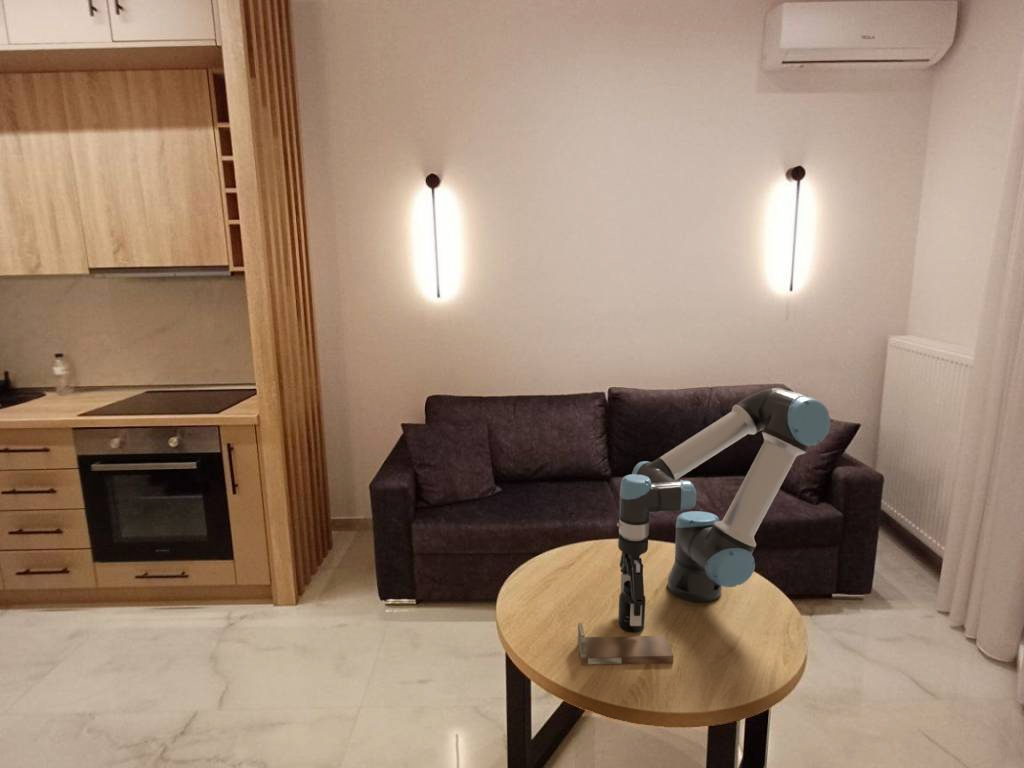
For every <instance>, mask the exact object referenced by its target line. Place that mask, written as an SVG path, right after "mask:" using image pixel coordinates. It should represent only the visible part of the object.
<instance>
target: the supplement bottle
mask: <svg viewBox="0 0 1024 768" xmlns="http://www.w3.org/2000/svg"><path fill="white" fill-rule="evenodd" d="M629 601H632V594H631V583H630V580H628V581H626V582H625V583H624V587H623V591H622V592H621V593H620V592H619V597H618V617H617V620H618V621H617V623H618V627H619V628H620V629H621V630H622V631H625V632H626V633H631V634H632V633H638V632H641V631H642V630H644V628H645V619H646V618H645V616H646V604H645V605H642V619H641V626H630V610H631V604H630V603H629ZM644 602H645V603H646V596H645V595H644Z"/></svg>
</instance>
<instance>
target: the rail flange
mask: <svg viewBox="0 0 1024 768" xmlns="http://www.w3.org/2000/svg"><path fill="white" fill-rule="evenodd" d="M583 626H584V625H583V622H578V623H577V647H578V653H579V657H580V663H581V665H582V666H586V665H588V666H590V665H591V666H592V665H593V666H594V665H601V666H602V665H631V664H632V665H642V664H643V665H644V664H645V665H650V664H673V663H674V654H673V651H672V648H671V646H670V644H669V642H668V640H667V637H666V635H635V636H634V635H632V636H630V635H629V636H626V635H625V636H623V635H621V636H586V635H585V631H584V627H583Z"/></svg>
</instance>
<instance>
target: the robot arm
mask: <svg viewBox="0 0 1024 768" xmlns="http://www.w3.org/2000/svg"><path fill="white" fill-rule="evenodd" d="M830 428H831V416H830V415H829V410H828V408H827V407H826V405H825V404H823V402H821V401H820V400H818V399H815V398H814V397H812V396H809V395H805V394H802V393H799V392H795V391H792V390H788V389H786V388H782V387H771V388H766V389H763V390H760V391H758V392H755V393H753V394H751V395H749V396H747V397H745V398H743V399H742V400H740V401H739V402H737V403H736V404H734V405H733V406H732V408H731V411H730V412H728V413H727V414H726V415H724V416H722V417H721V418H719V419H717V420H716V421H715V422H713V423H711V424H710V425H708V426H707V427H705V428H704V429H702V430H701V431H699V432H697V433H696V434H693V436H691V437H689V438H688V439H686V440H685V441H683V442H682V443H680V444H679V445H677V446H675V447H674V448H672V449H671V450H669V451H667V452H666V453H664V454H663V455H661V456H660V457H658V458H657V459H655V460H653V461H647V460H646V461H645V460H644V461H639V462H638V463H637V464H636V465H635V466H634V467H633V470H632V472H631V474H627V475H624V476H623V477H622V479H621V482H620V487H619V488H620V489H619V516H618V517H619V520H618V521H619V522H617V523H616V526H617V527H618V533H619V534H618V541H617V546H618V550H619V551H620V552H621V555H620V560H619V568H620V573H621V574H620V592H619V594H620V593H621V592H622V591H623V587H624V583H625V582H626V581H628V580H630V583H631V594H632V601H629V603H630V604H631V610H630V626H641V619H642V605H645V606H646V601H645V602H644V596H645V587H644V586H645V585H644V564H643V562H642V561H643V560H642V557H640V556H641V555H643V554H645V553H647V551H648V550H649V549H648V548H649V537H648V536H649V534H650V514H653V513H656V514H657V513H667V512H668V513H669V512H682V511H685V510H687V511H685V512H682V513H680V514H678V516H677V517H676V522H675V526H674V527H675V541H674V542H675V546H674V548H675V549H674V550H675V551H674V563H673V565H672V567H671V570H670V572H669V573H668V574H669V575H668V578H667V588H668V590H669V591H670V592H671V594H673V595H675V597H678V598H680V599H683V600H686V601H687V602H688V601H689V602H695V603H707V602H708V603H709V602H712V601H715V600H717V599H718V598H719V597H721V595H722V588H723V587H724V588H734V587H736V586H740V585H742V584H744V583H746V582H748V580H749V579H750V578H751V577H752V575H754V574H753V573H754V572H755V567H756V563H755V558H754V556H753V552H754V550H755V548H756V546H757V543H756V541H755V535H756V533H757V531H758V530H759V528H760V525H761V524H762V522H763V519H764V518H765V516H766V514H767V513H768V510H769V508H770V507H771V505H772V503H773V502H774V500H775V498H776V496H777V494H778V493H779V490H780V489H781V486H782V484H783V483H784V480H785V479H786V477H787V475H788V473H789V471H790V469H791V468H792V466H793V464H794V462H795V460H796V458H797V457H798V456H802V455H805V454H807V452H808V449H809V448H810V446H816V445H818V443H821V442H823V440H825V438H826V437H827V435H828V434H829V432H830ZM758 432H761V434H762V438H763V443H762V445H761V446H760V449H759V451H758V453H756V456H755V458H754V460H753V462H752V464H751V465H750V468H749V470H748V471H747V472H746V476H745V477H744V479H743V481H742V482H741V484H740V486H739V488H738V489H737V492H736V494H735V496H734V498H733V500H732V502H731V503H730V505H729V508H728V509H727V511H726V513H725V515H724V517H723V519H721V520H720V519H719V517H718V516H717V515H716V514H714V513H712V512H708V511H700V510H699V511H697V510H695V511H693V510H692V511H689V510H691V509H693V508H694V507H695V505H696V503H697V491H696V488H695V486H694V484H693V482H691V481H690V480H682V479H680V478H681V477H683V476H684V475H686V474H687V473H689V472H691V471H692V470H693V469H696V468H697V467H699V466H700V465H702V464H703V463H705V462H706V461H708V460H710V459H711V458H712V457H714V456H716V455H717V454H719V453H720V452H722V451H723V450H725V449H727V448H728V447H730V446H731V445H733V444H734V443H736V442H738V441H739V440H741V439H742V438H744V437H746V436H747V435H756V434H757V433H758ZM678 479H679V480H678Z"/></svg>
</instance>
